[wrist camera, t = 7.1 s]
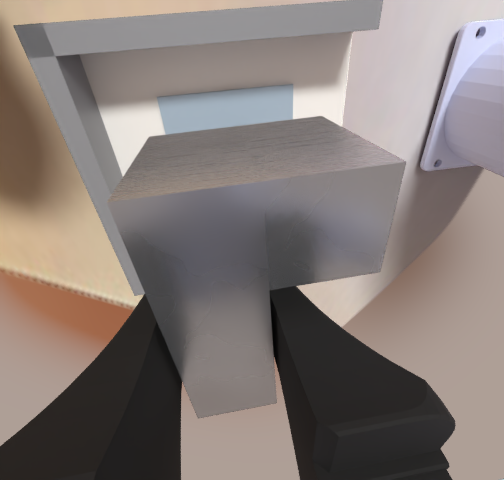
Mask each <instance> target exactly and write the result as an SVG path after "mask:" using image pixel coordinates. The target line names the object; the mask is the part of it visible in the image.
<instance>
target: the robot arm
mask: <svg viewBox="0 0 504 480" xmlns="http://www.w3.org/2000/svg"><path fill="white" fill-rule="evenodd" d="M478 29H480V32H479V35H478V36H477V37H476V32H477V30H478ZM437 160H438V161H437ZM436 161H437V163H436V164H435V165H434V163H435V162H436ZM475 165H478V166H480V167H483V168H485V169H487V170H490V171H492V172H494V173H496V174H499V175H501V176H503V177H504V19H498V20H486V21H474V22H468V23H466V24H465V25H464V26H463V27H462V28H461V29H460V31H459V33H458V36H457V39H456V43H455V46H454V50H453V53H452V57H451V60H450V63H449V67H448V70H447V74H446V77H445V81H444V84H443V87H442V91H441V94H440V98H439V101H438V105H437V108H436V112H435V115H434V118H433V122H432V125H431V129H430V132H429V136H428V139H427V142H426V146H425V149H424V153H423V156H422V160H421V163H420V167H421V169H423V170H424V171H435V170H443V169H451V168H459V167H467V166H475ZM269 292H270V307H271V323H272V338H273V353H274V357H275V361H276V364H277V368H278V372H279V376H280V380H281V385H282V390H283V395H284V399H285V404H286V410H287V414H288V419H289V424H290V429H291V434H292V440H293V444H294V449H295V455H296V460H297V465H298V470H299V476H300V480H452V478H451V477H450V475H449V473H448V471H447V470H446V469H448V468H449V463H448V461H447V459H446V458H445V456H444V454H443V453H442V451H441V449H440V448H441V447H442V446H443V445H444V443H445V442H446V441H447V440H448V439H449V437H450V436H451V435H452V433H453V431H454V429H455V420H454V418H453V417H452V415H451V414H450V412H449V411H448V409H447V408H446V407H445V405H444V403H443V402H442V401H441V399H440V398H439V397H438V395H437V394H436V393H435V392H434V391H433V390H432V388H431V387H430V386H429V385H428V383H427V382H426V381H425V380H424V379H422V378H420V377H418V376H416V375H415V374H413V373H411V372H409V371H407V370H405V369H404V368H402V367H400V366H398V365H397V364H395V363H393V362H391V361H389V360H388V359H386V358H385V357H383V356H382V355H380V354H378V353H377V352H375V351H374V350H372V349H371V348H369V347H368V346H366V345H365V344H363V343H362V342H361V341H359V340H358V339H356V338H355V337H354V336H352V335H351V334H349V333H348V332H346V331H345V330H344V329H342V328H341V327H340V326H339V325H337V324H336V323H335V322H334V321H332V320H331V319H330V318H329V317H328V316H326V315H325V314H324V313H323V312H322V311H321V310H320V309H318V308H317V307H316V306H315V305H314V304H313V303H312V302H311V301H310V300H309V299H308V298H307V297H306V296H305V295H304V294H303V293H302V292H301V291H300V290H299V289H298V288H297V287H296V286H292V287H286V288H280V289H274V290H269ZM181 388H182V379H181V377H180V375H179V372H178V370H177V368H176V365H175V363H174V361H173V358H172V356H171V353H170V351H169V349H168V346H167V344H166V342H165V339H164V337H163V335H162V332H161V330H160V327H159V325H158V323H157V320H156V318H155V316H154V313H153V311H152V309H151V306H150V304H149V302H148V299H147V297H146V294H144V296H143V297H142V299H141V300H140V302H139V303H138V305H137V306H136V308H135V309H134V311H133V312H132V314H131V315H130V316H129V318H128V319H127V320H126V322H125V323H124V325H123V326H122V327H121V329H120V330H119V331H118V332H117V334H116V335H115V336H114V338H113V339H112V340H111V341H110V342H109V344H108V345H107V346H106V347H105V349H104V350H103V351H102V352H101V353H100V354H99V355H98V357H97V358H96V359H95V360H94V361H93V362H92V363H91V364H90V365H89V366H88V367H87V368H86V369H85V370H84V371H83V372H82V373H81V374H80V375H79V376H78V377H77V378H76V379H75V381H73V383H72V384H71V385H70V386H69V387H68V388H67V389H65V390H64V392H62V393H61V394H60V395H59V396H58V397H57V398H56V399H55V400H54V401H53V402H52V403H51V404H50V405H48V406H47V407H46V408H45V409H44V410H43V411H42V412H41V413H40V414H38V415H37V416H36V417H35V418H34V419H33V420H31V421H30V422H29V423H28V424H27V425H26V426H24V427H23V428H22V429H21V430H20V431H18V432H17V433H16V434H15V435H14V436H12V437H11V438H10V439H9V440H7V441H6V442H5V443H4V444H3V445H1V446H0V480H181V454H180V453H181V451H180V449H181V445H180V444H181V442H180V441H181ZM500 480H504V479H500Z"/></svg>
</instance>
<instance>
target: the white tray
mask: <svg viewBox="0 0 504 480" xmlns="http://www.w3.org/2000/svg"><path fill="white" fill-rule="evenodd" d="M382 4H383V0H346V1H333V2H320V3H306V4H293V5H280V6H266V7H253V8H240V9H226V10H213V11H199V12H186V13H173V14H159V15H146V16H133V17H119V18H106V19H93V20H79V21H66V22H52V23H39V24H26V25H13V26H14V28H15V31H16V33H17V35H18V37H19V40H20V42H21V44H22V46H23V48H24V51H25V53H26V55H27V57H28V60H29V62H30V64H31V66H32V68H33V71H34V73H35V75H36V77H37V80H38V82H39V84H40V86H41V88H42V91H43V93H44V95H45V97H46V100H47V102H48V104H49V106H50V109H51V111H52V113H53V115H54V117H55V120H56V122H57V124H58V126H59V129H60V131H61V133H62V135H63V137H64V140H65V142H66V144H67V146H68V149H69V151H70V153H71V155H72V157H73V160H74V162H75V164H76V166H77V169H78V171H79V173H80V175H81V178H82V180H83V182H84V184H85V186H86V189H87V191H88V193H89V195H90V198H91V200H92V202H93V204H94V206H95V209H96V211H97V213H98V215H99V218H100V220H101V222H102V224H103V227H104V229H105V231H106V233H107V235H108V238H109V240H110V242H111V244H112V247H113V249H114V251H115V253H116V255H117V258H118V260H119V262H120V264H121V267H122V269H123V271H124V273H125V275H126V278H127V280H128V282H129V284H130V287H131V289H132V291H133V293H134V296H136V295H143V294H145V292H144V290H143V287H142V285H141V283H140V280H139V278H138V276H137V273H136V271H135V268H134V266H133V264H132V261H131V259H130V257H129V254H128V252H127V250H126V247H125V245H124V242H123V240H122V238H121V235H120V233H119V231H118V228H117V226H116V224H115V221H114V219H113V216H112V214H111V212H110V209H109V207H108V205H107V201H108V199H109V198H110V196H111V195H112V193H113V192H114V190H115V188H116V187H117V185H118V184H119V182H120V181H121V179H122V178H123V176H124V175H125V173H126V172H127V170H128V168H129V167H130V165H131V164H132V162H133V161H134V159H135V158H136V156H137V155H138V153H139V151H140V150H141V148H142V147H143V145H144V144H145V142H146V141H147V139H148V138H149V137H150V136H158V135H167V134H175V133H183V132H192V131H200V130H208V129H216V128H225V127H233V126H241V125H250V124H258V123H266V122H275V121H283V120H291V119H299V118H308V117H316V116H323V117H325V118H327V119H328V120H330V121H332V122H334V123H336V124H338V125H339V126H341V127H342V122H343V113H344V104H345V95H346V87H347V78H348V69H349V60H350V51H351V43H352V34H353V32H354V31H365V30H376V29H379V23H380V17H381V11H382Z"/></svg>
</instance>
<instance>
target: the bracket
mask: <svg viewBox="0 0 504 480" xmlns="http://www.w3.org/2000/svg"><path fill="white" fill-rule="evenodd" d="M405 165H406V161H404V160H402V159H400V158H399V157H397V156H395V155H393V154H391V153H389V152H387V151H386V150H384V149H382V148H380V147H378V146H376V145H375V144H373V143H371V142H369V141H367V140H365V139H363V138H362V137H360V136H358V135H356V134H354V133H352V132H351V131H349V130H347V129H345V128H343V127H341V126H339V125H338V124H336V123H334V122H332V121H330V120H328V119H327V118H325V117H323V116H316V117H308V118H299V119H291V120H283V121H275V122H266V123H258V124H250V125H241V126H233V127H225V128H216V129H208V130H200V131H192V132H183V133H175V134H167V135H158V136H150V137H149V138H148V139H147V141H146V142H145V144H144V145H143V147H142V148H141V150H140V151H139V153H138V155H137V156H136V158H135V159H134V161H133V162H132V164H131V165H130V167H129V168H128V170H127V172H126V173H125V175H124V176H123V178H122V179H121V181H120V182H119V184H118V185H117V187H116V188H115V190H114V192H113V193H112V195H111V196H110V198H109V199H108V201H107V205H108V207H109V209H110V212H111V214H112V216H113V219H114V221H115V224H116V226H117V228H118V231H119V233H120V235H121V238H122V240H123V242H124V245H125V247H126V250H127V252H128V254H129V257H130V259H131V261H132V264H133V266H134V268H135V271H136V273H137V276H138V278H139V280H140V283H141V285H142V287H143V290H144V292H145V294H146V297H147V299H148V302H149V304H150V306H151V309H152V311H153V313H154V316H155V318H156V320H157V323H158V325H159V327H160V330H161V332H162V335H163V337H164V339H165V342H166V344H167V346H168V349H169V351H170V353H171V356H172V358H173V361H174V363H175V365H176V368H177V370H178V372H179V375H180V377H181V379H182V382H183V384H184V386H185V389H186V391H187V393H188V396H189V398H190V401H191V403H192V405H193V407H194V410H195V413H196V415H197V417H198V418H203V417H207V416H213V415H218V414H223V413H228V412H234V411H239V410H244V409H249V408H254V407H259V406H265V405H270V404H275V403H277V399H276V384H275V369H274V353H273V338H272V323H271V307H270V292H269V290H274V289H280V288H286V287H292V286H299V285H305V284H311V283H317V282H323V281H329V280H335V279H341V278H347V277H353V276H360V275H366V274H372V273H378V272H380V271H381V266H382V262H383V258H384V254H385V250H386V245H387V241H388V237H389V233H390V228H391V224H392V220H393V216H394V212H395V207H396V203H397V199H398V195H399V191H400V186H401V182H402V178H403V174H404V170H405Z"/></svg>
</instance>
